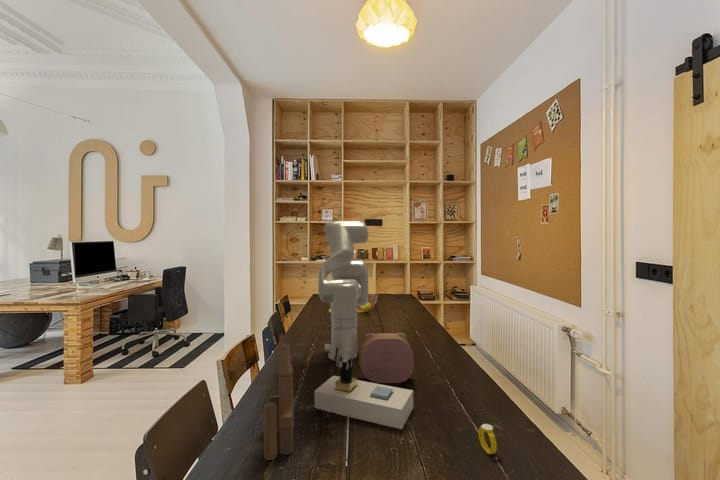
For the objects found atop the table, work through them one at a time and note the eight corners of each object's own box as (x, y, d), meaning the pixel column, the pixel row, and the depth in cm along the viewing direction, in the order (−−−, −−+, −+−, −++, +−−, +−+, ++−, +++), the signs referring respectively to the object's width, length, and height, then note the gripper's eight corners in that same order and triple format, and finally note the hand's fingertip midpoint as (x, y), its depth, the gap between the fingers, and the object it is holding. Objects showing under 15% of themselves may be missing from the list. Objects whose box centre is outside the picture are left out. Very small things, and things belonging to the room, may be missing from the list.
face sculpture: (411, 375, 124) (411, 331, 124) (415, 383, 117) (414, 337, 117) (359, 377, 124) (358, 333, 123) (359, 385, 117) (359, 339, 116)
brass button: (335, 390, 102) (335, 381, 102) (342, 383, 107) (342, 375, 107) (349, 393, 100) (349, 384, 100) (356, 386, 105) (356, 377, 105)
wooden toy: (269, 425, 93) (268, 337, 93) (293, 422, 94) (292, 336, 94) (263, 462, 78) (261, 358, 77) (292, 458, 79) (290, 355, 79)
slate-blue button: (371, 402, 97) (371, 393, 97) (377, 394, 102) (377, 386, 102) (387, 405, 95) (386, 396, 95) (392, 398, 100) (392, 388, 100)
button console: (314, 408, 102) (314, 391, 101) (333, 391, 112) (333, 375, 112) (401, 429, 90) (401, 409, 90) (413, 408, 101) (412, 390, 101)
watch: (476, 445, 84) (475, 421, 84) (486, 443, 84) (485, 419, 84) (489, 459, 78) (488, 433, 78) (500, 457, 78) (498, 431, 78)
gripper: (345, 315, 112) (346, 369, 112) (322, 327, 98) (323, 388, 98) (365, 317, 108) (366, 372, 109) (345, 329, 95) (346, 392, 95)
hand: (346, 380), depth 103 cm, fingers closed
